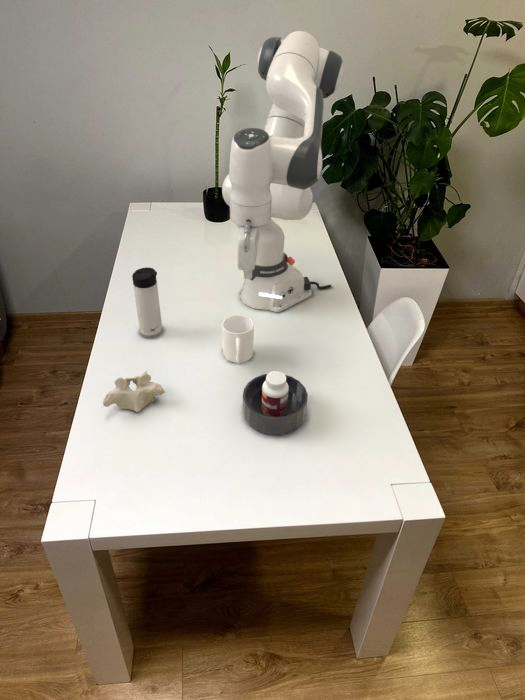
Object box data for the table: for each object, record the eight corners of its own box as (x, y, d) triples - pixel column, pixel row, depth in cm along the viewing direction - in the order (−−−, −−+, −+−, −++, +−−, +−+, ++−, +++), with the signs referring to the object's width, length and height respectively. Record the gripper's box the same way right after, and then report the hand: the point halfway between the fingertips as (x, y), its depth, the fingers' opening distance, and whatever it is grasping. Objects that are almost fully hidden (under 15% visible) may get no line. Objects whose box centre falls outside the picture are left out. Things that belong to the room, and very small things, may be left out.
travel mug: (159, 340, 152) (151, 279, 140) (136, 336, 153) (127, 276, 141) (166, 326, 157) (160, 267, 144) (145, 323, 158) (136, 263, 145)
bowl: (284, 383, 140) (285, 365, 136) (318, 421, 130) (320, 403, 127) (231, 403, 134) (231, 386, 130) (263, 445, 124) (264, 427, 120)
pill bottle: (256, 411, 132) (256, 378, 124) (272, 398, 135) (274, 364, 128) (275, 424, 129) (277, 390, 121) (292, 410, 132) (294, 376, 125)
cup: (252, 343, 152) (253, 314, 146) (254, 372, 143) (255, 342, 137) (222, 344, 152) (222, 314, 145) (223, 373, 143) (222, 343, 136)
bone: (164, 406, 134) (165, 384, 129) (111, 428, 128) (109, 406, 122) (148, 381, 139) (148, 360, 133) (96, 401, 132) (93, 379, 127)
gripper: (261, 234, 108) (260, 292, 117) (268, 191, 124) (267, 245, 133) (229, 233, 109) (231, 290, 118) (241, 189, 124) (241, 243, 133)
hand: (250, 266), depth 125 cm, fingers open, 8 cm apart
